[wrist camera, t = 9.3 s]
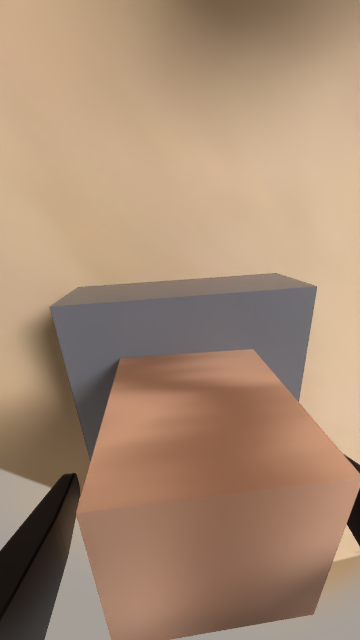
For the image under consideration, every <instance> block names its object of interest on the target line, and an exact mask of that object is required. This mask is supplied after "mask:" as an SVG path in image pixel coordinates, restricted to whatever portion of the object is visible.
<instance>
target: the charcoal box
mask: <svg viewBox="0 0 360 640" xmlns="http://www.w3.org/2000/svg"><path fill="white" fill-rule="evenodd" d="M316 290H317V286H314V285H311V284H308V283H305V282H302V281H299V280H296V279H293V278H290V277H286V276H283V275H280V274H277V273H272V274H258V275H244V276H230V277H216V278H202V279H188V280H174V281H160V282H146V283H132V284H118V285H104V286H90V287H78V288H77V289H75V290H74V291H72V292H71V293H69V294H68V295H66V296H65V297H63V298H62V299H60V300H59V301H57V302H56V303H54V304H53V305H51V306H50V310H51V314H52V318H53V321H54V325H55V329H56V333H57V336H58V340H59V344H60V348H61V352H62V355H63V359H64V363H65V367H66V370H67V374H68V378H69V382H70V386H71V389H72V393H73V397H74V401H75V404H76V408H77V412H78V416H79V420H80V423H81V427H82V431H83V435H84V439H85V442H86V446H87V450H88V454H89V457H90V461H91V459H92V455H93V452H94V448H95V445H96V441H97V438H98V434H99V431H100V427H101V424H102V420H103V417H104V413H105V410H106V406H107V403H108V399H109V396H110V392H111V389H112V385H113V382H114V379H115V375H116V372H117V368H118V365H119V361H120V358H131V357H145V356H160V355H174V354H189V353H203V352H218V351H234V350H249V349H253V350H254V351H255V352H256V353H257V354H258V355H259V357H260V358H261V359H262V360H263V361H264V362H265V364H266V365H267V366H268V367H269V368H270V369H271V371H272V372H273V373H274V374H275V375H276V376H277V378H278V379H279V380H280V381H281V382H282V383H283V385H284V386H285V387H286V388H287V389H288V390H289V392H290V393H291V394H292V395H293V396H294V397H295V399H296V400H297V401H298V402H299V397H300V391H301V384H302V378H303V372H304V366H305V359H306V353H307V347H308V341H309V334H310V328H311V322H312V316H313V309H314V303H315V297H316Z"/></svg>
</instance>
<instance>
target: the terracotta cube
mask: <svg viewBox="0 0 360 640" xmlns="http://www.w3.org/2000/svg"><path fill="white" fill-rule="evenodd" d="M359 488H360V473H359V472H358V471H357V470H356V469H355V467H354V466H353V465H352V464H351V463H350V462H349V460H348V459H347V458H346V457H345V456H344V455H343V453H342V452H341V451H340V450H339V449H338V448H337V446H336V445H335V444H334V443H333V442H332V441H331V439H330V438H329V437H328V436H327V435H326V434H325V432H324V431H323V430H322V429H321V428H320V427H319V425H318V424H317V423H316V422H315V421H314V420H313V418H312V417H311V416H310V415H309V414H308V413H307V411H306V410H305V409H304V408H303V407H302V406H301V404H300V403H299V402H298V401H297V400H296V399H295V397H294V396H293V395H292V394H291V393H290V392H289V390H288V389H287V388H286V387H285V386H284V385H283V383H282V382H281V381H280V380H279V379H278V378H277V376H276V375H275V374H274V373H273V372H272V371H271V369H270V368H269V367H268V366H267V365H266V364H265V362H264V361H263V360H262V359H261V358H260V357H259V355H258V354H257V353H256V352H255V351H254V350H253V349H249V350H234V351H218V352H203V353H189V354H174V355H160V356H145V357H131V358H120V361H119V365H118V368H117V372H116V375H115V379H114V382H113V385H112V389H111V392H110V396H109V399H108V403H107V406H106V410H105V413H104V417H103V420H102V424H101V427H100V431H99V434H98V438H97V441H96V445H95V448H94V452H93V455H92V459H91V462H90V466H89V469H88V473H87V476H86V480H85V483H84V487H83V490H82V494H81V497H80V501H79V504H78V508H77V511H76V515H77V519H78V522H79V526H80V529H81V533H82V537H83V540H84V544H85V547H86V551H87V554H88V558H89V562H90V565H91V568H92V572H93V576H94V580H95V583H96V587H97V590H98V594H99V597H100V601H101V605H102V608H103V612H104V615H105V619H106V622H107V626H108V630H109V633H110V636H111V640H170V639H175V638H181V637H186V636H193V635H198V634H204V633H210V632H215V631H221V630H227V629H232V628H238V627H244V626H250V625H256V624H261V623H267V622H273V621H278V620H284V619H290V618H296V617H301V616H307V615H313V614H314V612H315V608H316V606H317V603H318V601H319V598H320V595H321V592H322V590H323V587H324V584H325V581H326V579H327V576H328V573H329V570H330V568H331V565H332V562H333V560H334V557H335V554H336V551H337V549H338V546H339V543H340V540H341V538H342V535H343V532H344V529H345V527H346V524H347V521H348V519H349V516H350V513H351V510H352V508H353V505H354V502H355V499H356V497H357V494H358V491H359Z"/></svg>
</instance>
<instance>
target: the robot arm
mask: <svg viewBox="0 0 360 640" xmlns="http://www.w3.org/2000/svg"><path fill="white" fill-rule="evenodd" d="M343 455H344V454H343ZM344 456H345V457H346V458H347V459H348V460H349V462H350V463H351V464H352V465H353V466H354V467H355V469H356V470H357V471H358V472H359V473H360V465H359V464H358V463H356V462H355V461H353V460H352V459H350V458H349V457H347V456H346V455H344ZM79 498H80V486H79V482H78V478H77V475H76V474H75V473H71V474H64V475H63V476H61V478H60V479H59V480H58V481H57V482H56V484H55V485H54V486H53V487H52V489H51V490H50V491H49V492H48V494H47V495H46V496H45V497H44V498H43V500H42V501H41V502H40V503H39V504H38V506H37V507H36V508H35V509H34V510H33V512H32V513H31V514H30V515H29V517H28V518H27V519H26V520H25V521H24V523H23V524H22V525H21V526H20V528H19V529H18V530H17V531H16V533H15V534H14V535H13V536H12V537H11V538H10V540H9V541H8V542H7V543H6V545H5V546H4V547H3V548H2V549H1V551H0V640H44V639H45V636H46V632H47V628H48V625H49V622H50V618H51V615H52V611H53V607H54V604H55V600H56V597H57V593H58V590H59V586H60V583H61V579H62V576H63V572H64V569H65V565H66V562H67V558H68V554H69V549H70V544H71V539H72V534H73V528H74V523H75V519H76V511H77V508H78V503H79ZM347 525H348V527H349V529H350V530H351V532H352V534H353V536H354V537H355V539H356V541H357V542H358V544H359V546H360V488H359V491H358V494H357V497H356V499H355V502H354V505H353V508H352V510H351V513H350V516H349V519H348V521H347Z"/></svg>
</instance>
